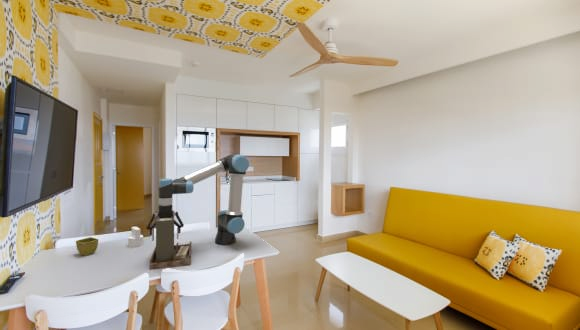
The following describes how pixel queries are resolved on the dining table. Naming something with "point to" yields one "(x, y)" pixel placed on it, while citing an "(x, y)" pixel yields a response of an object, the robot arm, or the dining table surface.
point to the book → (165, 239)
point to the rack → (171, 263)
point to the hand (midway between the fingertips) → (165, 239)
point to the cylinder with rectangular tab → (135, 238)
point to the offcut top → (182, 252)
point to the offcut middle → (184, 258)
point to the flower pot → (87, 246)
